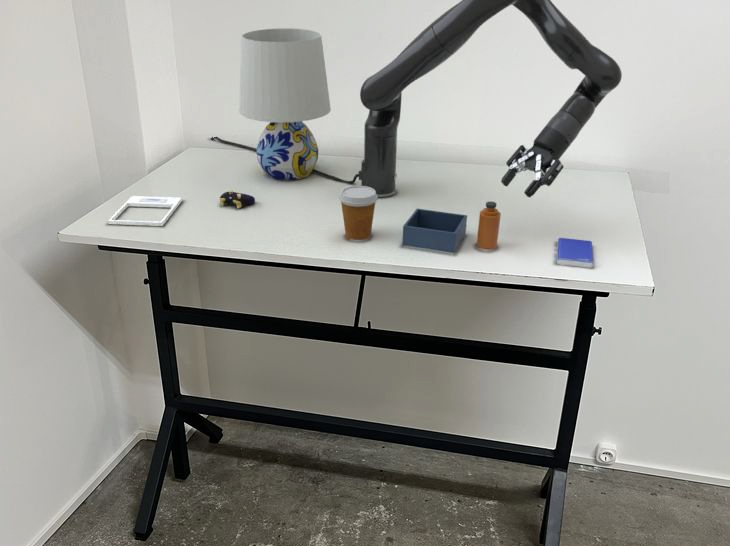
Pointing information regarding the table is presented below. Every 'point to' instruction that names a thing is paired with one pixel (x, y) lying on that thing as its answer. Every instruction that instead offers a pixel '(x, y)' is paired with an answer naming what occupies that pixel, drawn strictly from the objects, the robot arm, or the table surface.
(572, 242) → the blue book
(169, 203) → the photo frame
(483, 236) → the bottle
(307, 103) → the table lamp
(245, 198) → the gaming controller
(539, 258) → the table surface
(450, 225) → the tote
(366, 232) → the disposable coffee cup
